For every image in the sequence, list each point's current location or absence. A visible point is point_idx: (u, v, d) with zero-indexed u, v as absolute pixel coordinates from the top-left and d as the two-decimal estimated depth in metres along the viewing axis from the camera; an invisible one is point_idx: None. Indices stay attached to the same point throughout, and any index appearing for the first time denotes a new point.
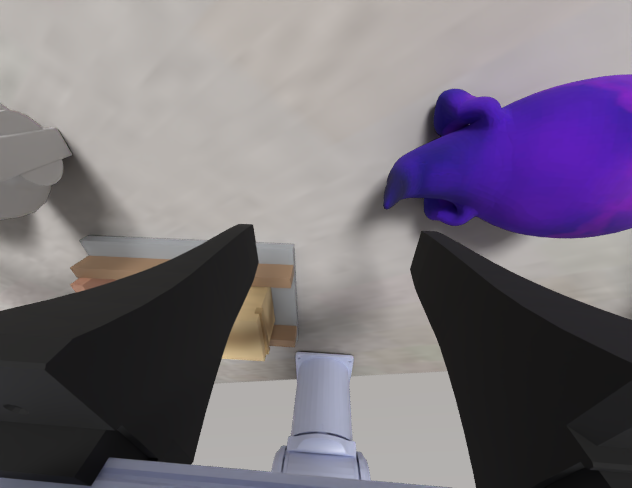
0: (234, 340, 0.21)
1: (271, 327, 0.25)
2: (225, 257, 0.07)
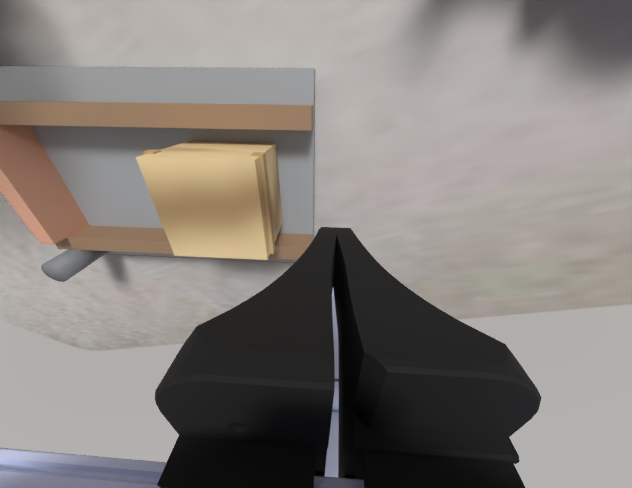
0: (218, 211, 0.13)
1: (277, 224, 0.17)
2: (332, 262, 0.07)
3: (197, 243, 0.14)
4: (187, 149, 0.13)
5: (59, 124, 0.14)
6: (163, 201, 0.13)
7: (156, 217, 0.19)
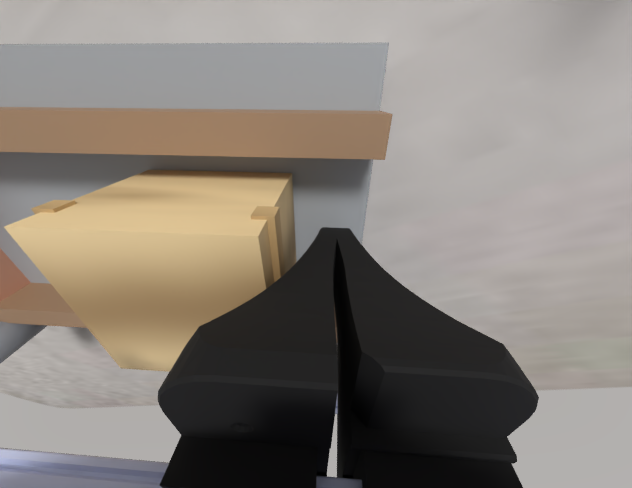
0: (188, 316, 0.07)
1: None
2: (333, 262, 0.07)
3: (156, 355, 0.08)
4: (132, 194, 0.07)
5: None
6: (82, 298, 0.07)
7: None
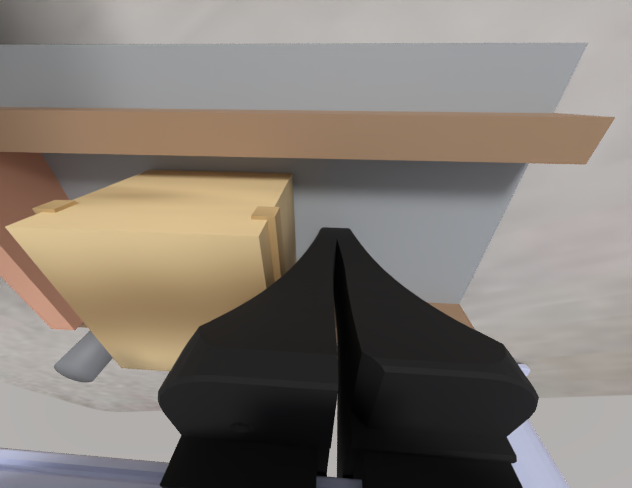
0: (189, 316, 0.07)
1: None
2: (333, 262, 0.07)
3: (157, 355, 0.08)
4: (133, 195, 0.07)
5: (92, 151, 0.07)
6: (83, 298, 0.07)
7: None
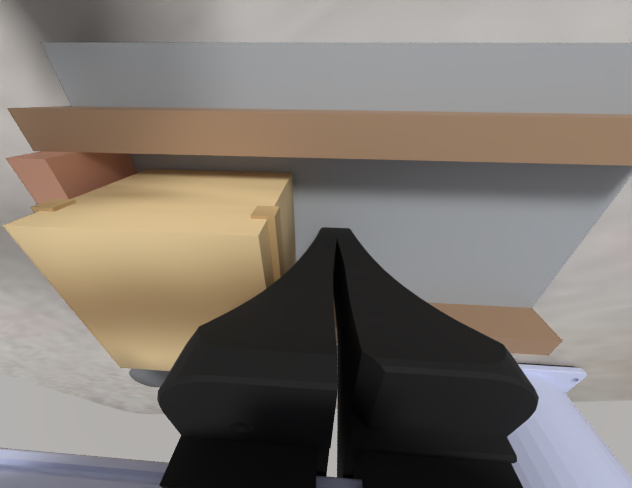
0: (188, 315, 0.07)
1: None
2: (333, 262, 0.07)
3: (156, 355, 0.08)
4: (132, 193, 0.07)
5: (209, 153, 0.07)
6: (81, 298, 0.07)
7: None
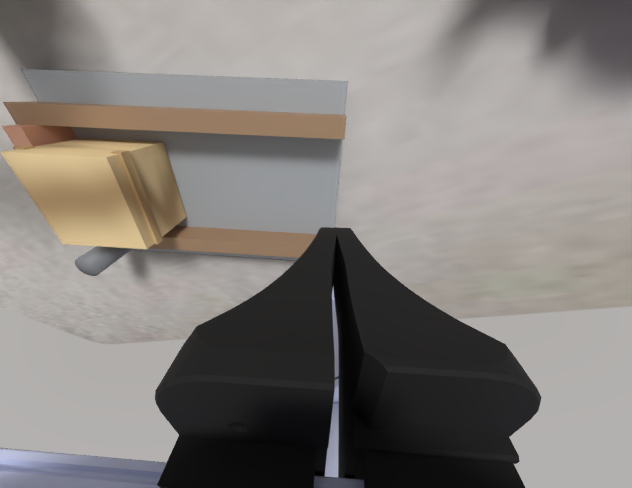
0: (89, 203, 0.14)
1: (173, 217, 0.18)
2: (332, 262, 0.07)
3: (79, 232, 0.15)
4: (65, 146, 0.14)
5: (104, 127, 0.14)
6: (37, 193, 0.14)
7: None
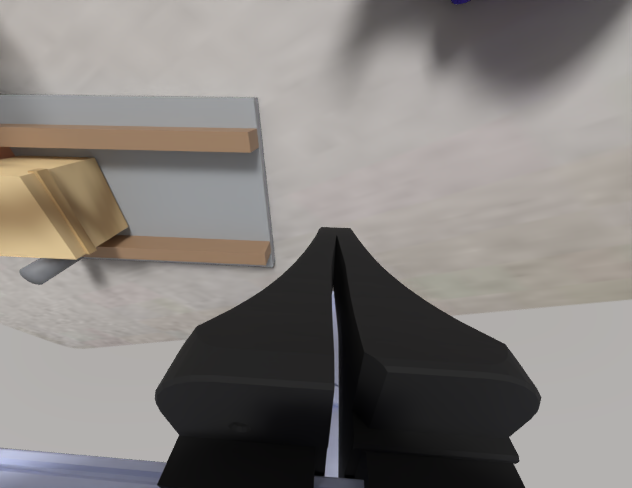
0: (14, 218, 0.15)
1: (110, 228, 0.19)
2: (332, 262, 0.07)
3: (12, 245, 0.16)
4: None
5: (29, 146, 0.15)
6: None
7: None
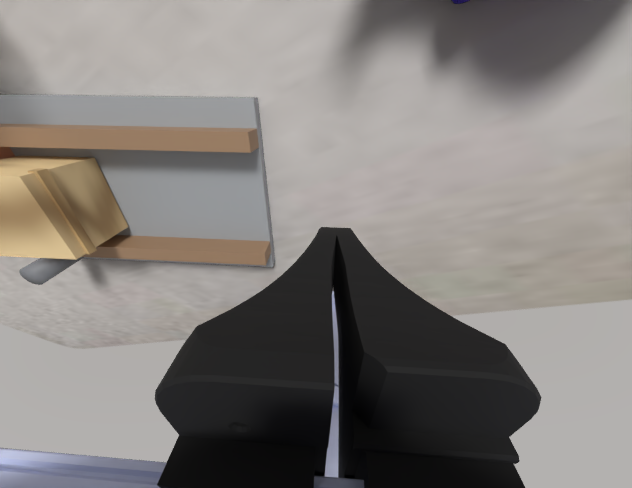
0: (14, 218, 0.15)
1: (110, 228, 0.19)
2: (332, 262, 0.07)
3: (12, 245, 0.16)
4: None
5: (29, 146, 0.15)
6: None
7: None
